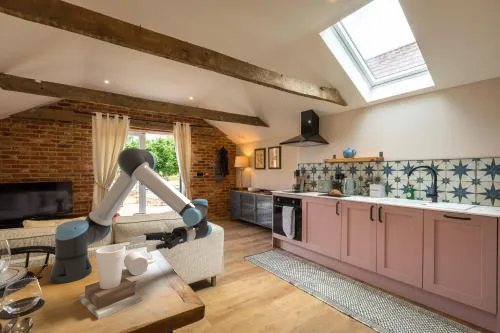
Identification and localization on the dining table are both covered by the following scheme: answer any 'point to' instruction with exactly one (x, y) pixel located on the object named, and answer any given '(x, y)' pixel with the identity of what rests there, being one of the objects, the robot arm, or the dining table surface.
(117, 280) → the foam cup
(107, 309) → the build base
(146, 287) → the dining table surface
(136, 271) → the mug
